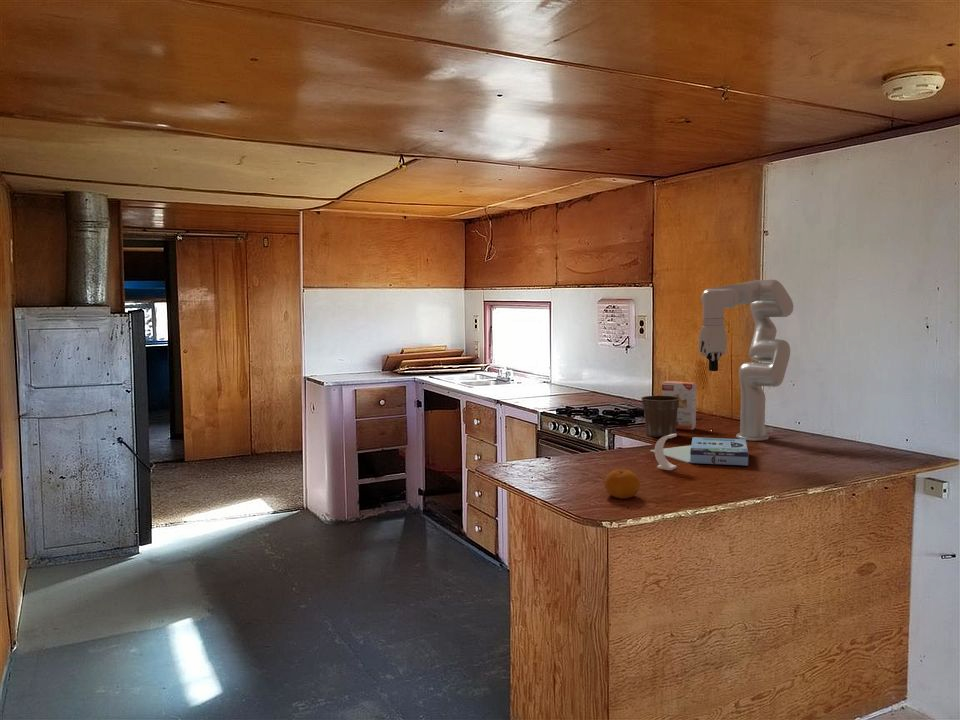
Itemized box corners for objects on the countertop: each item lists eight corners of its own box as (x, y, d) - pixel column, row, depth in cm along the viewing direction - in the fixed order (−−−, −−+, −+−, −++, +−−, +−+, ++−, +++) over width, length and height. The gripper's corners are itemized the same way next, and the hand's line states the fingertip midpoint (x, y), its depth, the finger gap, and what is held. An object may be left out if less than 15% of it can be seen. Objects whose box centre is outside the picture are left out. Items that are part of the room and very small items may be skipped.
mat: (691, 446, 283) (691, 445, 283) (731, 457, 263) (731, 456, 263) (649, 451, 275) (649, 450, 275) (688, 463, 255) (688, 461, 255)
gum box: (745, 439, 268) (749, 451, 247) (745, 452, 269) (748, 466, 247) (691, 436, 274) (690, 449, 253) (691, 449, 275) (690, 463, 253)
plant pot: (633, 435, 307) (633, 397, 306) (655, 430, 318) (656, 394, 316) (665, 440, 295) (665, 401, 293) (687, 435, 305) (688, 397, 304)
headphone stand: (670, 470, 245) (670, 435, 244) (654, 467, 249) (654, 433, 248) (676, 468, 248) (676, 433, 247) (661, 465, 252) (661, 431, 251)
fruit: (601, 500, 211) (601, 473, 210) (608, 490, 221) (608, 465, 220) (637, 503, 207) (637, 476, 206) (642, 493, 217) (642, 467, 216)
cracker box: (661, 427, 323) (661, 381, 321) (665, 425, 328) (666, 380, 326) (691, 430, 315) (692, 383, 313) (696, 428, 320) (696, 382, 318)
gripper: (721, 321, 277) (721, 368, 279) (690, 323, 271) (691, 371, 273) (735, 321, 270) (735, 370, 272) (704, 324, 264) (704, 373, 266)
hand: (713, 370), depth 273 cm, fingers closed
